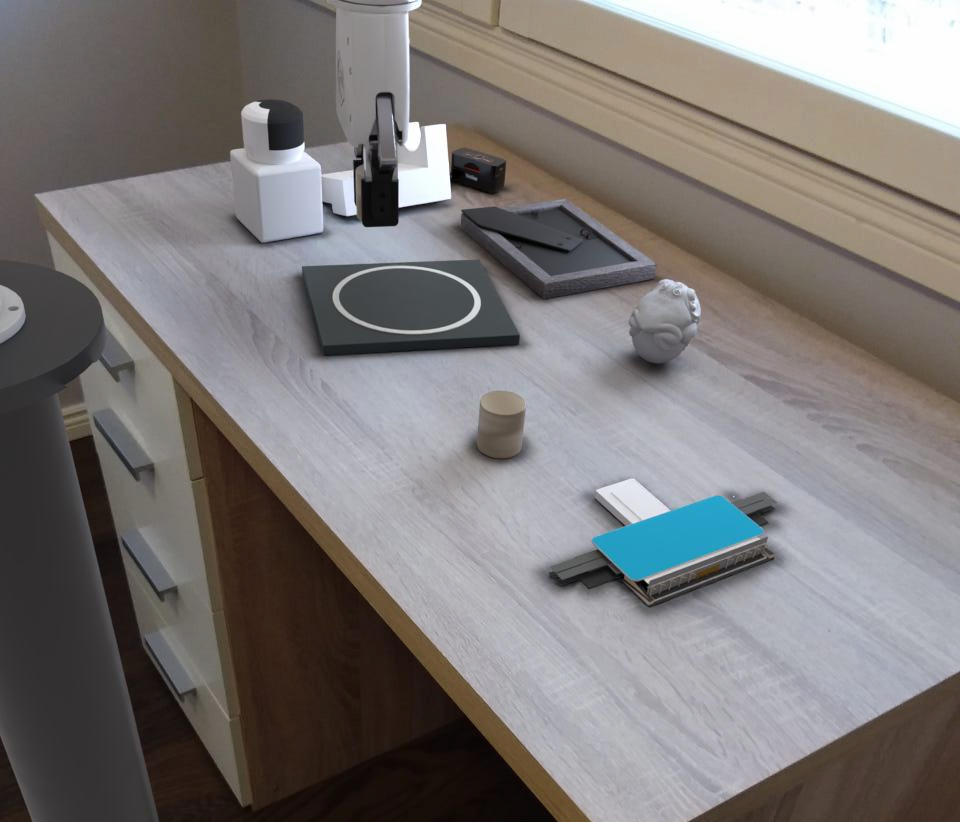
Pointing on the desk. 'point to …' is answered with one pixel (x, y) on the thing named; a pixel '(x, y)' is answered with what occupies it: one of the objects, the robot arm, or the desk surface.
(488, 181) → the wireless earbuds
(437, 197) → the bracket
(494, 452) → the beige cylinder
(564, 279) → the picture frame
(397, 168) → the robot arm
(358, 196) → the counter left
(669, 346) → the frog figurine
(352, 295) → the slate board
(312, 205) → the security camera
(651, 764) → the desk surface
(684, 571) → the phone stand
